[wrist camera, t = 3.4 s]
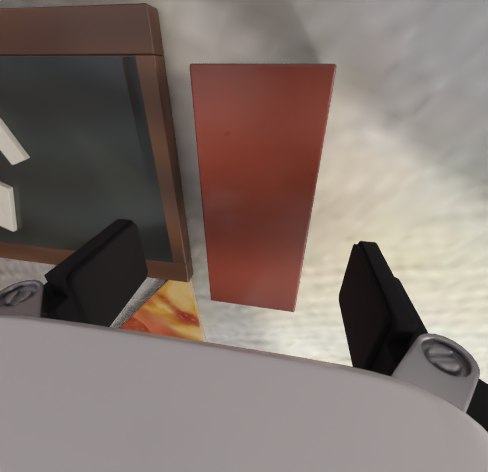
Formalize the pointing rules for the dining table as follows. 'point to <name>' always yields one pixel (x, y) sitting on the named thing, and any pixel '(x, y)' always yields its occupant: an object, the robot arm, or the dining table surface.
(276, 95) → the eraser
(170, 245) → the chalkboard
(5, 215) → the chalk mark
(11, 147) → the chalk mark
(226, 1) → the dining table surface
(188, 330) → the pizza slice
